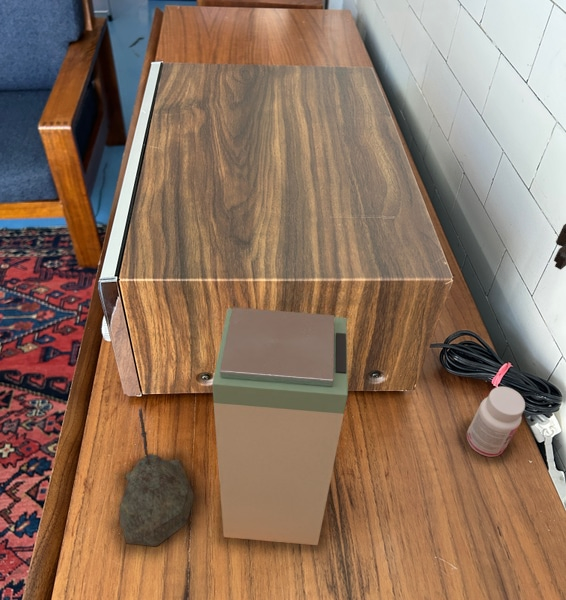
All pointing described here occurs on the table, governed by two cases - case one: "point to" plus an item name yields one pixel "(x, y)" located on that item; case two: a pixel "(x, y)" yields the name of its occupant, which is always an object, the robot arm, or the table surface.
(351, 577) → the table surface
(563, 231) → the robot arm
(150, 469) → the grey rough stone lump
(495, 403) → the pill bottle
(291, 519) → the pedestal
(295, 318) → the scale
